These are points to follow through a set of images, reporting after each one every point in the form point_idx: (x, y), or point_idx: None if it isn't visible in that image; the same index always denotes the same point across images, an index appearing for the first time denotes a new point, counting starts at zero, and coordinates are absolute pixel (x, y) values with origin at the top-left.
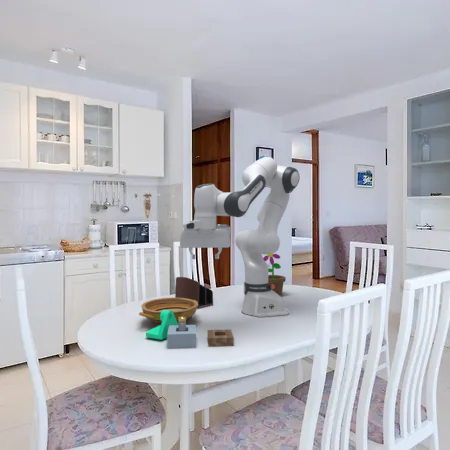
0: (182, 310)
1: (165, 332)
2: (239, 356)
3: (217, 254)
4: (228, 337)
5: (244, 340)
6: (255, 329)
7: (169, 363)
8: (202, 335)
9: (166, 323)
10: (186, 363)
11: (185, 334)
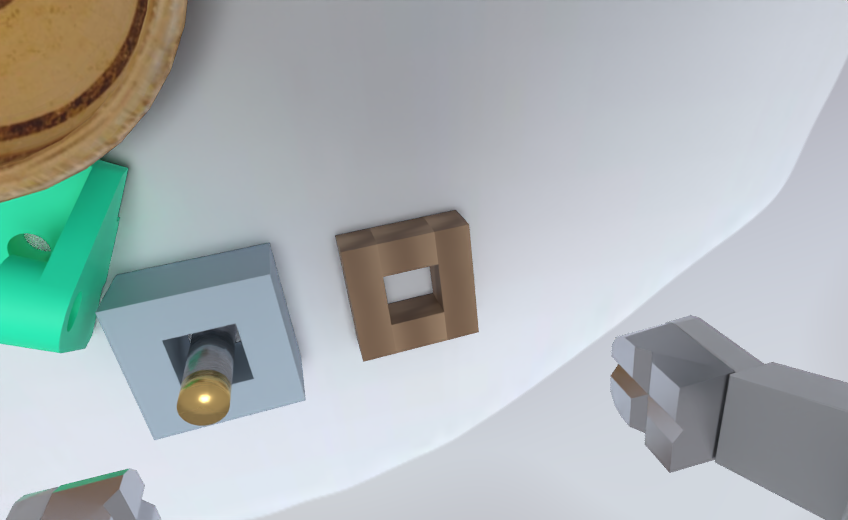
0: (103, 144)
1: (90, 317)
2: (485, 399)
3: (716, 462)
4: (455, 335)
5: (516, 243)
6: (589, 72)
7: (235, 502)
8: (299, 203)
9: (76, 335)
10: (299, 488)
11: (252, 411)
